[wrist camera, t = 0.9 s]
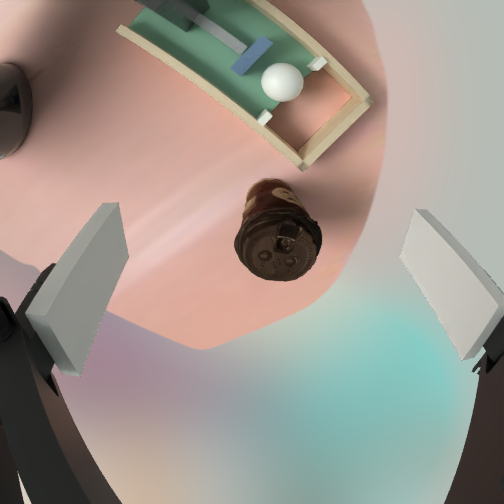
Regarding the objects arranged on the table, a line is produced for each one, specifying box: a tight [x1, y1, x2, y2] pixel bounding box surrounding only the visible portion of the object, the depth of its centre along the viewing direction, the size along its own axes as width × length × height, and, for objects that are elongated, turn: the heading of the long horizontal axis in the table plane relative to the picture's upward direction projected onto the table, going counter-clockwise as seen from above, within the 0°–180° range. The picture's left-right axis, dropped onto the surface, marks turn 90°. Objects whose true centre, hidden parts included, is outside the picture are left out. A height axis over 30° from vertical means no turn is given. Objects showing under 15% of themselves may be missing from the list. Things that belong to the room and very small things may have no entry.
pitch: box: [115, 0, 375, 172], centre depth 27 cm, size 27×12×4 cm, turn 49°
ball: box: [261, 63, 303, 102], centre depth 28 cm, size 4×4×4 cm
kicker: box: [134, 0, 273, 76], centre depth 20 cm, size 12×5×13 cm, turn 49°
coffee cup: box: [234, 179, 322, 281], centre depth 34 cm, size 9×8×13 cm
